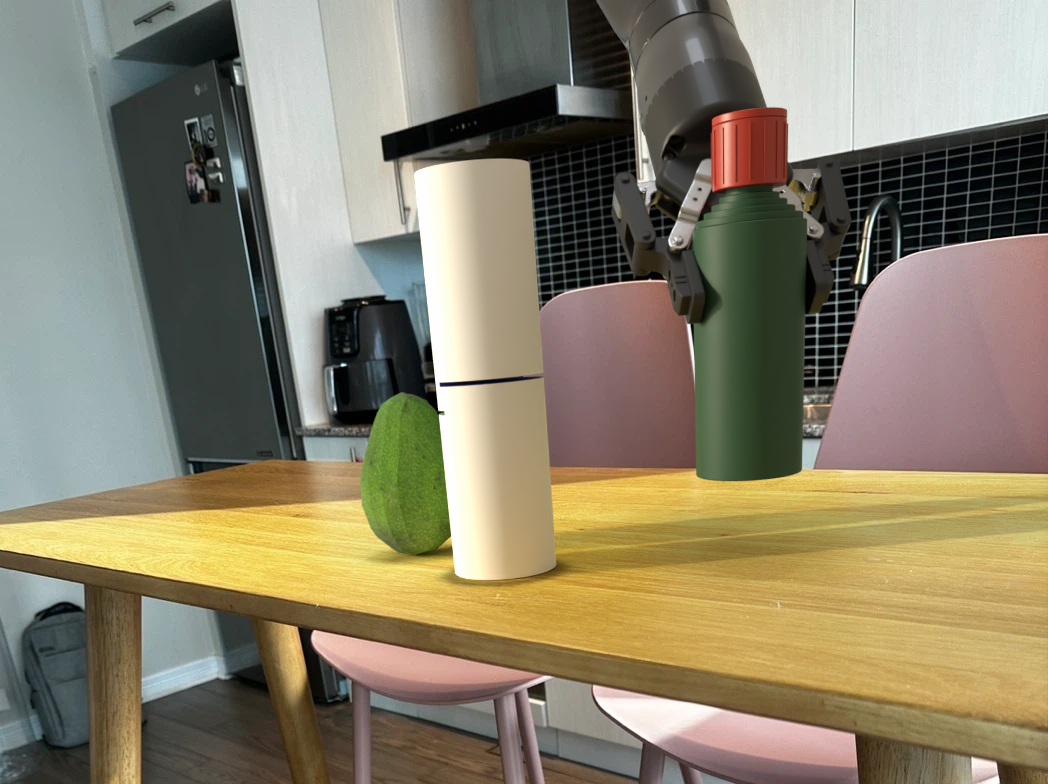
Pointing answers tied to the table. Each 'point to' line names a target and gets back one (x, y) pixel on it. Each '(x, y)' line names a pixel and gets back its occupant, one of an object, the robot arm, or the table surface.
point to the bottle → (750, 337)
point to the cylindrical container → (488, 364)
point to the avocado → (406, 477)
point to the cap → (749, 149)
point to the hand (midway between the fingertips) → (757, 307)
